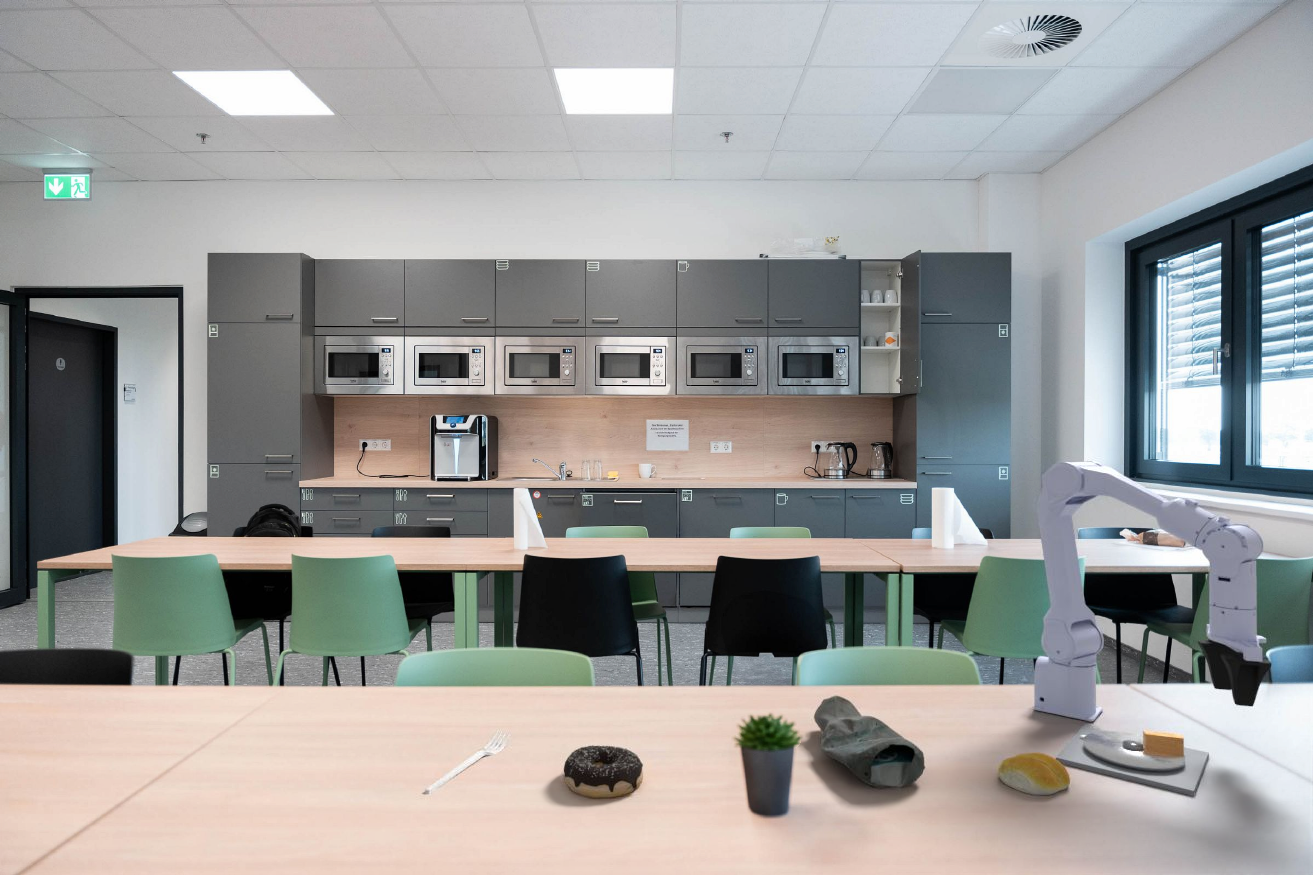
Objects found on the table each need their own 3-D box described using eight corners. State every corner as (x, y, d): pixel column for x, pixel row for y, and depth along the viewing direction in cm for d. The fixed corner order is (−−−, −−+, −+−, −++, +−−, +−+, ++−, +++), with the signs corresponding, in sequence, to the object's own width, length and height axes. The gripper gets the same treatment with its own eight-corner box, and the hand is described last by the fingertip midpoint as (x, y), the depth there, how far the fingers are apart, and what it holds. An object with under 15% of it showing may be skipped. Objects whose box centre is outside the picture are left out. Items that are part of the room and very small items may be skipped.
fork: (416, 794, 106) (416, 780, 106) (495, 741, 125) (495, 730, 125) (436, 798, 105) (436, 784, 105) (513, 744, 124) (513, 732, 124)
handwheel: (1090, 763, 113) (1090, 740, 113) (1077, 731, 125) (1077, 711, 125) (1196, 776, 108) (1196, 753, 108) (1172, 742, 120) (1172, 721, 120)
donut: (581, 808, 102) (582, 778, 102) (551, 774, 112) (551, 746, 112) (657, 791, 107) (657, 762, 107) (620, 760, 117) (620, 733, 117)
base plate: (1055, 761, 116) (1055, 755, 116) (1083, 729, 129) (1083, 723, 129) (1193, 795, 105) (1193, 788, 105) (1208, 757, 117) (1208, 750, 117)
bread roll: (1080, 786, 108) (1079, 757, 108) (1043, 802, 103) (1043, 772, 103) (1023, 765, 115) (1023, 738, 115) (987, 779, 110) (987, 751, 110)
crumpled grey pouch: (940, 790, 107) (869, 721, 131) (936, 738, 106) (865, 679, 131) (848, 803, 105) (793, 731, 130) (844, 751, 105) (790, 688, 130)
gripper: (1288, 618, 109) (1288, 715, 108) (1243, 598, 122) (1243, 684, 122) (1228, 614, 111) (1229, 710, 111) (1191, 595, 124) (1191, 680, 124)
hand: (1232, 696), depth 117 cm, fingers open, 7 cm apart
